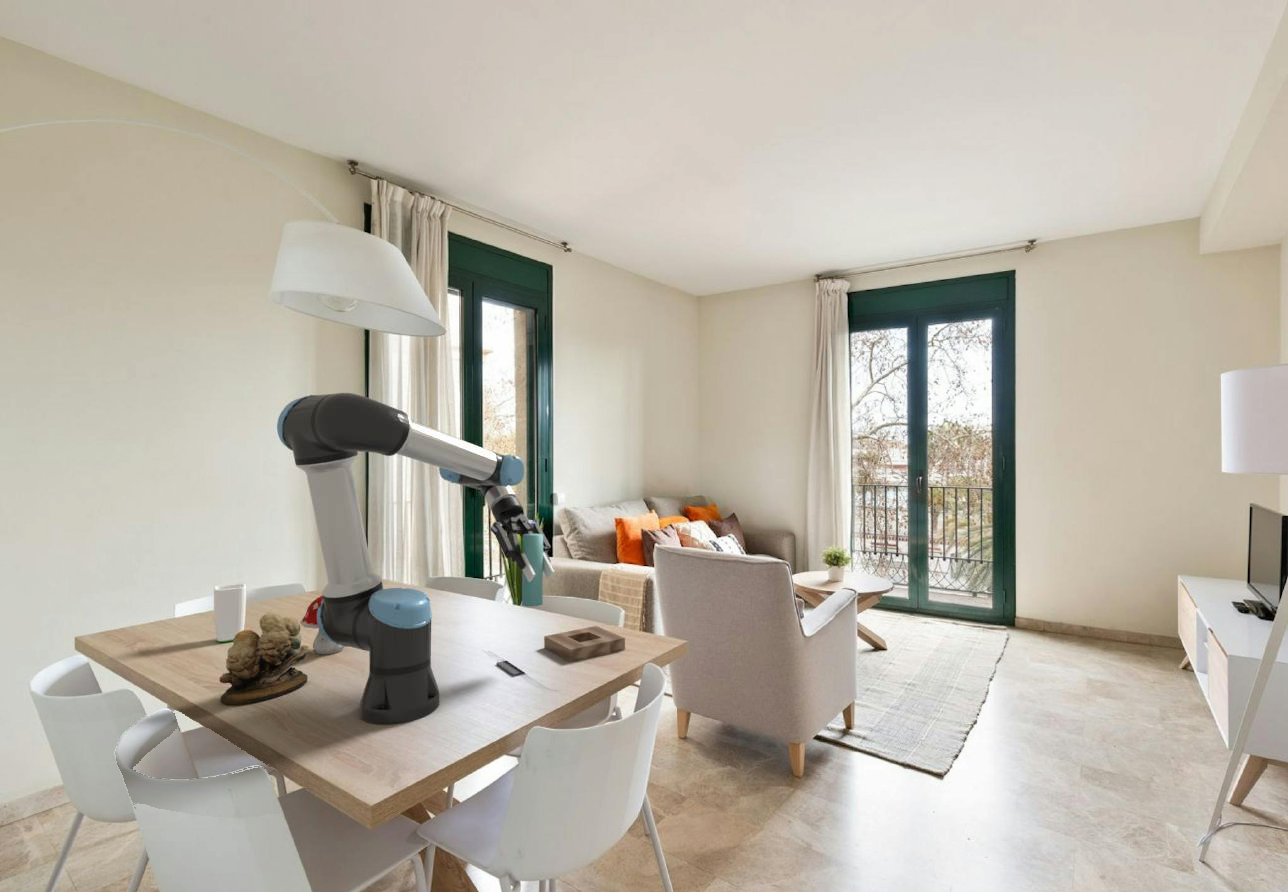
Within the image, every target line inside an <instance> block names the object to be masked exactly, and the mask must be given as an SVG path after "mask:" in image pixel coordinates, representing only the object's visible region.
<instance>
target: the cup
mask: <svg viewBox="0 0 1288 892" xmlns="http://www.w3.org/2000/svg"><path fill="white" fill-rule="evenodd" d="M246 607H247V585H246V584H245V583H232V584H222V585H215V586H214V587H213V612H214V613H213V615H214V618H213V619H214V626H215V627H214V628H215V636H216V639H217V642H219V643H227V642H233V639H234V637H235V635H236V634H237V633H239V632H241V631H243V630H245V622H246Z"/></svg>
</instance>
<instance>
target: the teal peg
mask: <svg viewBox="0 0 1288 892" xmlns="http://www.w3.org/2000/svg"><path fill="white" fill-rule="evenodd" d="M522 553H525V555H526V556H527V558H528V560H529V562H530V564H531V566H532V568H533V570H534V572H535V574H536V575H535V576H534V578H533V579H532V580H531V581H530V582H528V580H527V578H526V576H525V574H524V572H523V570H522V569H521V571H522V574H521V576H522V577H521V578H522V580H521V581H522V583H521V587H522V588H521V606H524V607H539V606H542V605H543V604H544V603H543V597H544V596H543V595H544V594H543V592H544V591H543V590H544V588H543V587H544V586H543V585H544V580H543V579H544V571H543V534H524V535H523V538H522Z"/></svg>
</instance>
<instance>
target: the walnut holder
mask: <svg viewBox="0 0 1288 892" xmlns="http://www.w3.org/2000/svg"><path fill="white" fill-rule="evenodd" d="M543 639H544V642H543V645H544V649H546V650H547V651H549V652H551V653H553V654H555V655H557V656H559V657H560V658H562V659H564V660H566V661H568V662H570V663H573V662H578V661H583V660H587V659H591V658H595V657H600V656H604V655H608V654H613V653H617V652H621V651H624V650H626V638H625V637H624V636H623V635H622V636H621V635H619V634H616V633H614V632H612V631H609V630H608V629H605V628H602V627H600V626H598V625H594V626H589V627H585V628H584V627H583V628H579V629H574V630H569V631H564V632H558V633H555V634H549V635H544V637H543Z"/></svg>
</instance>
